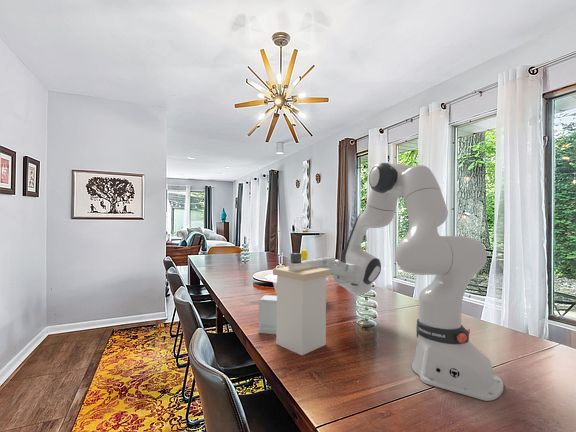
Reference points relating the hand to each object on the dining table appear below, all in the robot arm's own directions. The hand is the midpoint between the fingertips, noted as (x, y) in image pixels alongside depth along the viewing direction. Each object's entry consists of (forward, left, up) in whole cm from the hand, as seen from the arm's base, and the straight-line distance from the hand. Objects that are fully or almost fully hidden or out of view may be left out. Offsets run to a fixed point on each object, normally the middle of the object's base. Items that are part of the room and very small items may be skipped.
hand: (326, 260), depth 118 cm
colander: (+37, -23, -28) cm, 52 cm away
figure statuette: (+60, -57, -28) cm, 87 cm away
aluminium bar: (0, +6, -2) cm, 7 cm away
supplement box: (+17, +12, -28) cm, 35 cm away
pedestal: (0, +13, -28) cm, 31 cm away
